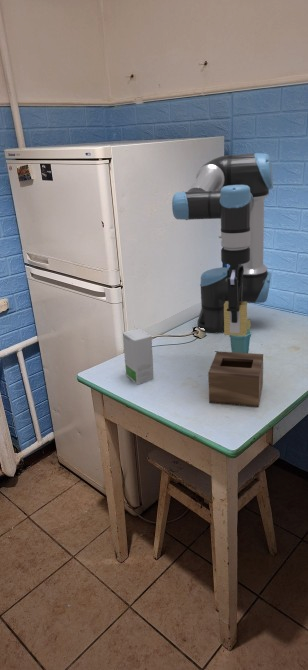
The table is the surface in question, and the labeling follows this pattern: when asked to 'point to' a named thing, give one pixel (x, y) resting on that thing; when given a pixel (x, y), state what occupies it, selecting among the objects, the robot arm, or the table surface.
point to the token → (242, 319)
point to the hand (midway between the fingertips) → (235, 329)
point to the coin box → (236, 379)
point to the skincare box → (138, 355)
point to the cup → (241, 341)
